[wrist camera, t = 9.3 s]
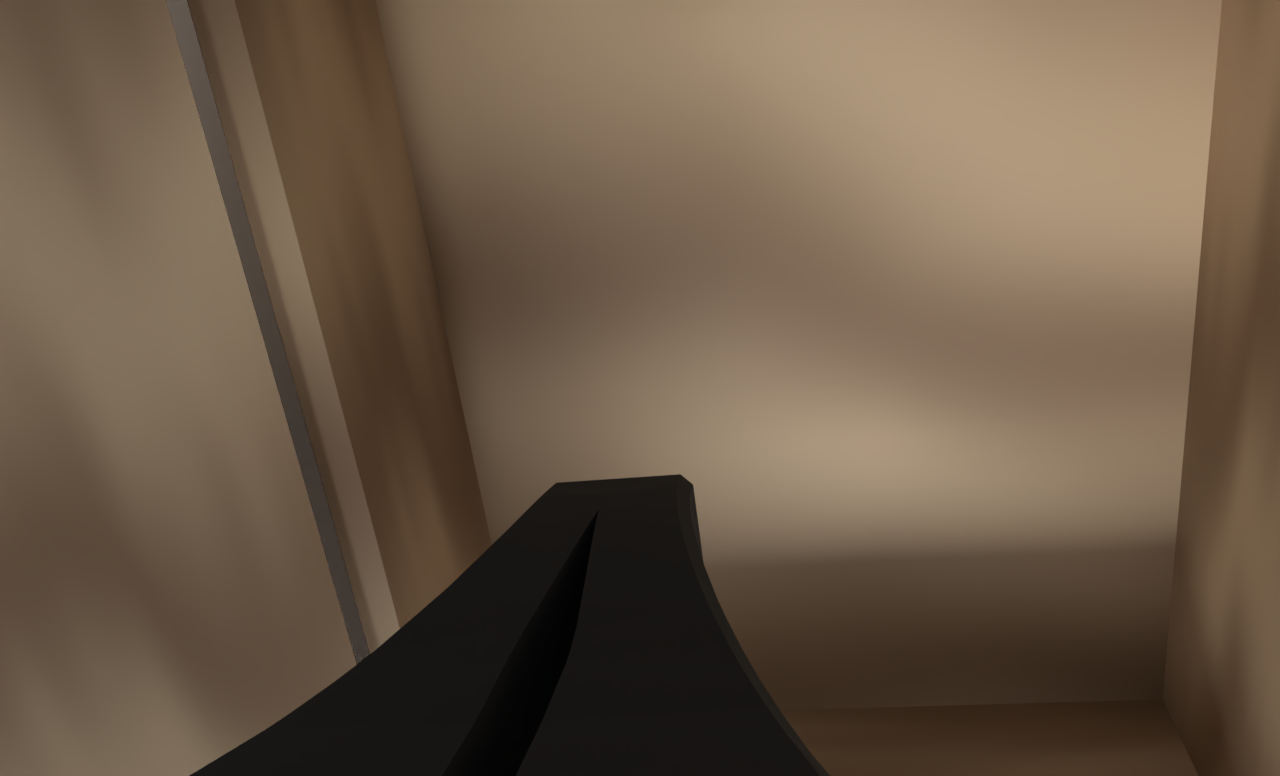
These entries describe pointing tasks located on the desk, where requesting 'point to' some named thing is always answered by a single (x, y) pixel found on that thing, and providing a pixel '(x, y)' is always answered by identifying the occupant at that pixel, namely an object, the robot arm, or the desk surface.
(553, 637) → the robot arm
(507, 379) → the carton
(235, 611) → the flap
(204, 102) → the desk surface
